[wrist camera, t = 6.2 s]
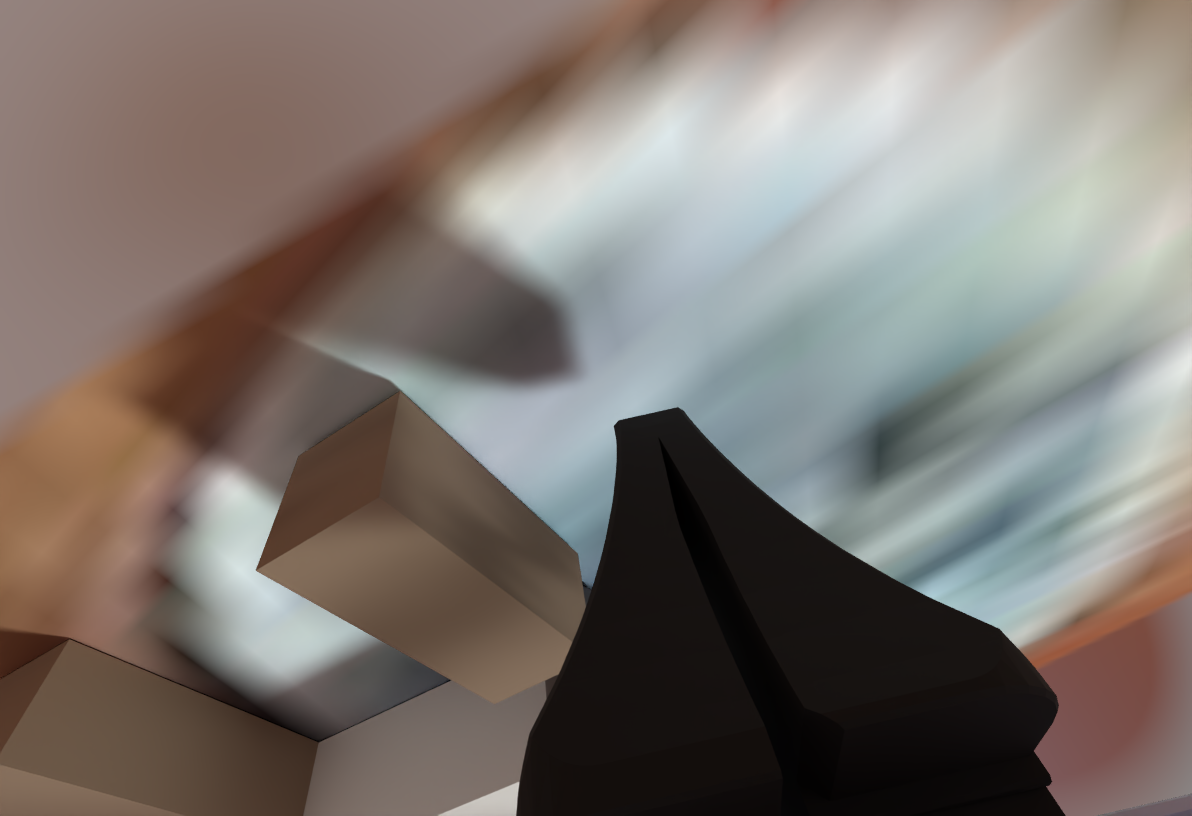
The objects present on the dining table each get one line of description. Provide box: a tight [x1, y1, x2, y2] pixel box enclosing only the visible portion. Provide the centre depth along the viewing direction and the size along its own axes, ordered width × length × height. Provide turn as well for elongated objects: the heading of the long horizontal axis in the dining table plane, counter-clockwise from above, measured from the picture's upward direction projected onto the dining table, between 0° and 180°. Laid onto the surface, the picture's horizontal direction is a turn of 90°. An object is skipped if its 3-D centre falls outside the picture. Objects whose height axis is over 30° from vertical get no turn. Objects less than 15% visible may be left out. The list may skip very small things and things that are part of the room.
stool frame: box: [0, 639, 547, 816], centre depth 17 cm, size 18×11×4 cm, turn 120°
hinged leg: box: [256, 391, 591, 704], centre depth 15 cm, size 10×3×3 cm, turn 31°
